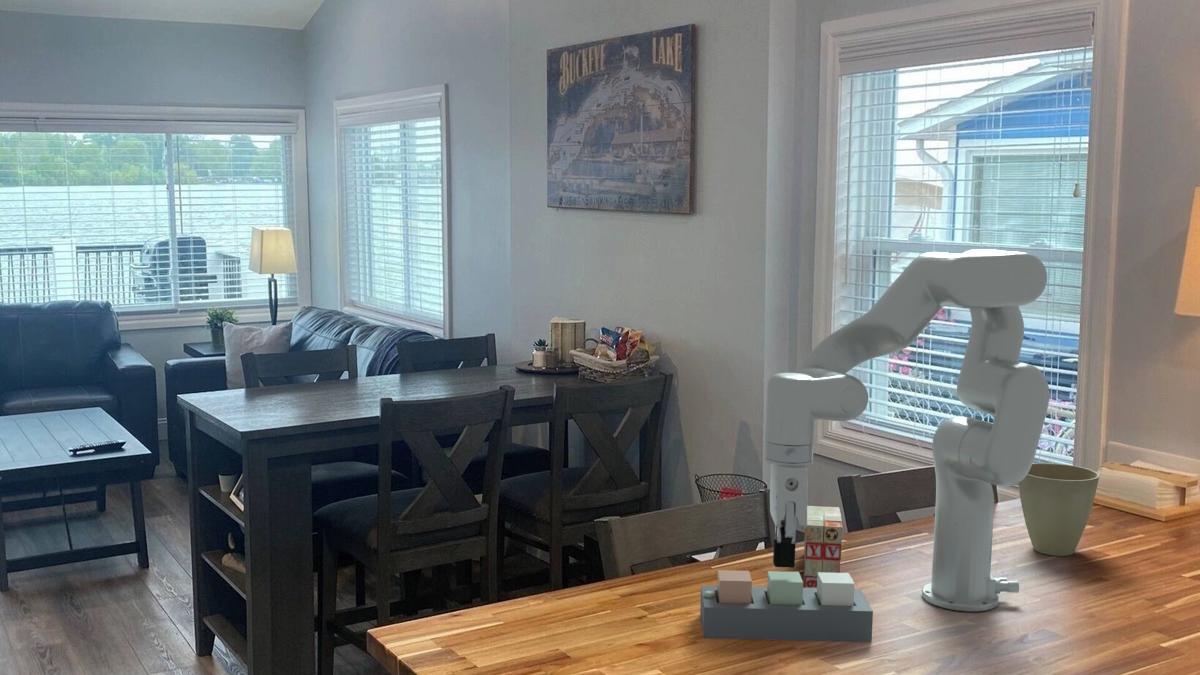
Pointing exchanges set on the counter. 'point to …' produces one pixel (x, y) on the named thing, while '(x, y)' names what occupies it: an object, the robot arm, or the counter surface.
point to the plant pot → (1057, 505)
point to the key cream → (835, 589)
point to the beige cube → (734, 587)
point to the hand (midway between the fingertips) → (783, 565)
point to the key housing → (785, 618)
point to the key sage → (784, 588)
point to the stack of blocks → (822, 543)
